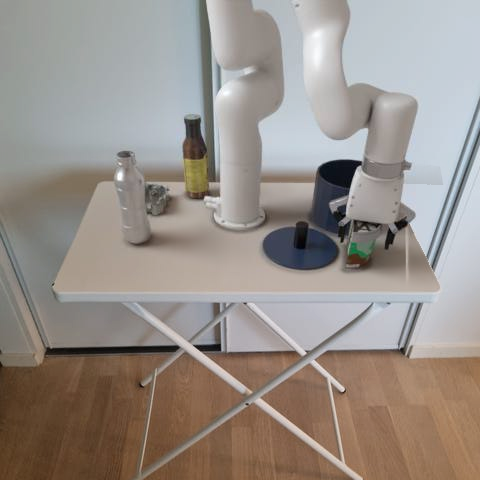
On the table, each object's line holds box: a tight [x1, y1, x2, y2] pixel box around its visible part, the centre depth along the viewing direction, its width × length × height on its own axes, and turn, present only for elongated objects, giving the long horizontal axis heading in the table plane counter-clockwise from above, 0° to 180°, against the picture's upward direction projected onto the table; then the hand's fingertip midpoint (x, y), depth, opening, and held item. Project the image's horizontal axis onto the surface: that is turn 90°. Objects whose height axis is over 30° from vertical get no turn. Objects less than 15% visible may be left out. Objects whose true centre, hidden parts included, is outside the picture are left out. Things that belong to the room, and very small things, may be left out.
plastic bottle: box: [113, 150, 152, 244], centre depth 99 cm, size 6×7×20 cm
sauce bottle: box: [181, 113, 210, 199], centre depth 116 cm, size 7×6×20 cm
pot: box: [310, 158, 362, 237], centre depth 111 cm, size 16×16×12 cm
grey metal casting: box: [145, 182, 170, 216], centre depth 117 cm, size 11×8×4 cm
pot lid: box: [262, 220, 338, 271], centre depth 102 cm, size 17×17×7 cm
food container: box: [344, 219, 383, 270], centre depth 98 cm, size 12×6×10 cm, turn 168°
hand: (364, 243), depth 99 cm, fingers open, 9 cm apart
